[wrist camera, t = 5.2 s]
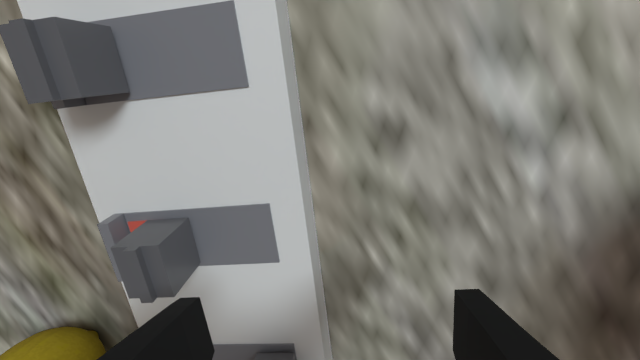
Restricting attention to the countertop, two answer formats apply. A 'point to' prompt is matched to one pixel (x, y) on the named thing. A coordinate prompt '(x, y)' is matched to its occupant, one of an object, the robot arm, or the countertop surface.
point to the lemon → (58, 346)
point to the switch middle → (157, 258)
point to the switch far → (274, 356)
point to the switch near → (63, 59)
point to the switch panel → (207, 161)
